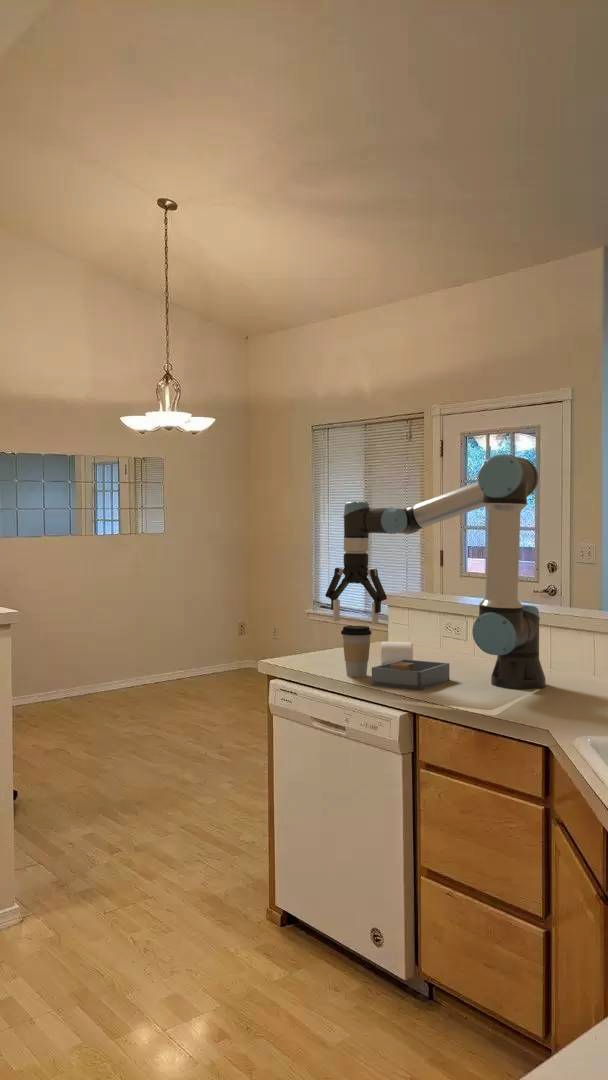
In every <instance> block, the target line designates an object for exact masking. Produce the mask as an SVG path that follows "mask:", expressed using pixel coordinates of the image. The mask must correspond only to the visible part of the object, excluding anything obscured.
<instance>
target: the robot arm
mask: <svg viewBox="0 0 608 1080" xmlns="http://www.w3.org/2000/svg"><path fill="white" fill-rule="evenodd" d="M538 484H539V472H538V470H537V467H536V466H535V465H534V463H533V462H531V461H530V460H529V459H527V458H523V457H519V456H518V457H517V456H514V455H512V454H496V455H492V456H491V457H488V459H486V460H484V462H483V463H482V465H480V468H479V470H478V473H477V481H476V482H473V483H470V484H467V485H465V486H462V487H460V488H457V489H454V490H451V491H448V492H445V493H443V494H440V495H437V496H435V497H431V498H430V499H427V500H424V501H421V502H419V503H415V504H413V505H410V506H407V507H404V508H400V507H377V508H375V507H374V508H372V507H370V506H369V502H366V501H347V502H345V503H344V508H343V551H344V553H343V568H342V567H335V568H334V572H333V576H332V579H331V581H330V583H329V585H328V588H327V590H326V593H325V595H324V596H325V597H326V598H328V599H330V609H331V611H332V622H340V619H341V618H340V617H341V604H340V602H341V599H339V597H340V596H341V595H342V593H343V592H344V591H345V589H346V588H347V587H348V585H349V584H361V585H362V586H363V588H364V589H365V590H366V591H367V593H368V594H369V596H370V597H371V598H372V600H373V601H372V602H371V625H378V624H379V613H380V614H381V612H382V610H381V609H382V602H383V601H386V600H387V599H388V597H387V595H386V591H385V590H384V587H383V585H382V582H381V580H380V578H379V574H378V569H377V568H371V569H369V568H368V566H369V554H368V553H367V552H368V551H369V536H370V535H369V534H391V535H393V534H406V535H410V534H415V533H417V532H419V531H420V530H421V529H424V528H425V527H429V526H432V525H434V524H438V523H442V522H443V521H446V520H449V519H452V518H455V517H458V516H461V515H463V514H466V513H470V512H472V511H475V510H479V509H482V508H484V507H485V508H486V509H487V511H488V512H487V514H488V515H487V517H488V518H487V540H486V543H487V544H486V567H485V568H486V570H485V572H486V573H485V591H484V593H485V597H484V599H483V600H482V601H481V602H479V607H478V609H479V610H478V617H477V618H476V619H475V621H474V623H473V624H472V631H471V633H472V638H473V641H474V643H475V644H476V646H477V647H478V648H479V649H480V650H481V651H482V652H484V653H486V654H487V655H491V656H497V657H496V661H495V664H494V667H493V671H492V672H491V676H490V678H491V679H490V684H491V686H494V687H497V688H503V689H510V690H536V689H543V688H545V687H546V683H547V682H546V675H545V672H544V670H543V667H542V664H541V660H540V620H541V618H540V611H539V608H538V607H537V606H535V605H529V604H528V605H527V604H522V603H521V602H520V601H519V599H518V596H519V595H518V592H519V567H520V566H519V564H520V562H519V561H520V540H521V539H520V538H521V536H520V534H521V515H522V514H521V512H522V510H523V509H525V508H526V507H527V505H528V504H527V503H528V497H529V496H530V495H532V494H533V492H534V491H535V490H536V489H537V487H538ZM342 575H344V577H343V579H341V578H342ZM368 576H369V577H370V579H371V580H370V579H369V578H368ZM340 581H341V582H340ZM370 581H371V582H372V583H371V582H370ZM339 582H340V583H339ZM372 584H373V585H372Z"/></svg>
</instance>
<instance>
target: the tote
mask: <svg viewBox="0 0 608 1080" xmlns="http://www.w3.org/2000/svg"><path fill="white" fill-rule="evenodd" d="M397 662H404V663H414V671H407V670H397V669H391V664H393V663H397ZM449 680H450V663H448V662H439V661H430V660H429V661H427V660H416V659H415V660H414V659H413V660H406V659H403V660H399V661H395V662H391V663H387V664H380V665H375V666H373V667H371V686H377V687H387V688H395V689H396V688H397V689H406V690H414V691H422V690H424V689H427V688H431V687H433V686H436V685H440V684H442V683H445V682H447V681H449Z"/></svg>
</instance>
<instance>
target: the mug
mask: <svg viewBox="0 0 608 1080" xmlns="http://www.w3.org/2000/svg"><path fill="white" fill-rule="evenodd" d="M403 659H406V660H414V643H413V642H411V641H407V642H406V641H382V642H381V644H380V665H383V664H387V663H391V662H395V661H399V660H403Z"/></svg>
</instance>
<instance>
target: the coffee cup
mask: <svg viewBox="0 0 608 1080" xmlns="http://www.w3.org/2000/svg"><path fill="white" fill-rule="evenodd" d="M340 635H342V641H343V642H342V645H343V655H344V662H345V671H346V676H347V677H348V676H351V677H350V678H355V677H360V678H364V677H363V676H365V677H367V676H368V675H367V673H368V665H369V664H368V663H369V659H370V649H371V648H370V647H371V641H370V640H371V635H372V630H370V627H369V626H368V625H367V626H366V625H345V626H343V628H342V630H341V631H340Z"/></svg>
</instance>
